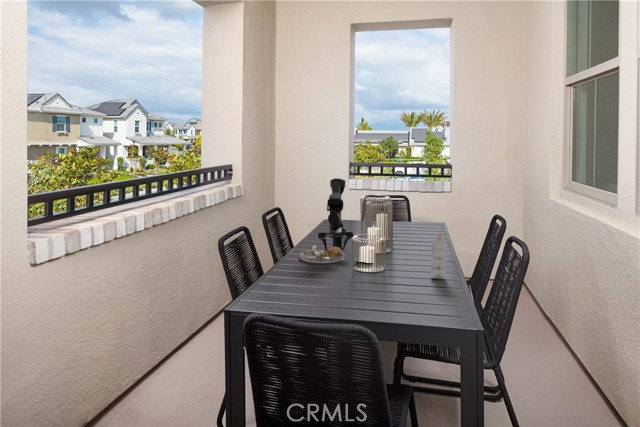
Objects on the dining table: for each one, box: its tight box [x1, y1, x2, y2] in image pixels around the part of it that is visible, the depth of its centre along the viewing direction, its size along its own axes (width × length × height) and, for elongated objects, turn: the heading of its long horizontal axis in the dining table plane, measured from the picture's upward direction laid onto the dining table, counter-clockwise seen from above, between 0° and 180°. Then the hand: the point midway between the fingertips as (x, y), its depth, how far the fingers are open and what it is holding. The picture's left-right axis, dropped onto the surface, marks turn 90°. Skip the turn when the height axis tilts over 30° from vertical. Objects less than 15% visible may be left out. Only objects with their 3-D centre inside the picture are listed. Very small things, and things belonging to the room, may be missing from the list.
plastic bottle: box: [430, 233, 448, 280], centre depth 213 cm, size 6×7×20 cm
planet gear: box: [327, 246, 342, 257], centre depth 254 cm, size 7×7×4 cm
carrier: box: [299, 245, 346, 265], centre depth 253 cm, size 23×23×5 cm
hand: (334, 250), depth 254 cm, fingers open, 9 cm apart
